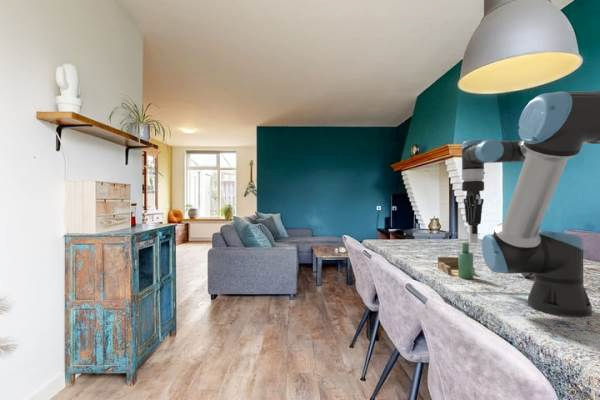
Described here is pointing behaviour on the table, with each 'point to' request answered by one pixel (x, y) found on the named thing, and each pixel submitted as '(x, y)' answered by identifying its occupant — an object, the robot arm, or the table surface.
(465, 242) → the bottle
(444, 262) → the cradle
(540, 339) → the table surface
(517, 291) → the table surface
